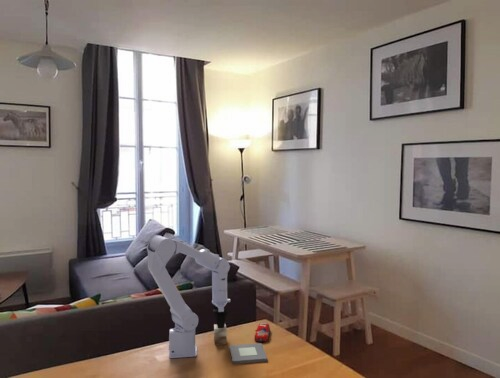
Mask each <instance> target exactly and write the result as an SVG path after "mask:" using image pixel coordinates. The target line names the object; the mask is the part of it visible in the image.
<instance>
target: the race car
mask: <svg viewBox="0 0 500 378" xmlns="http://www.w3.org/2000/svg"><path fill="white" fill-rule="evenodd" d="M254 331H255V334H254V341H256V342H258V343H262V342H268V341H269V338H270V337H269V336H270V332H271V326H270V324H269V323H268V322H260V323H259V324H258V325H257V328H256V329H255V330H254Z"/></svg>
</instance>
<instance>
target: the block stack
mask: <svg viewBox="0 0 500 378" xmlns="http://www.w3.org/2000/svg"><path fill="white" fill-rule="evenodd" d="M227 336H228V335H227V325H226V323H225V324H224V328H218V326H217V323H216V324H215V323H214V324H213V342H214V343H213V344H214V345H215V346H217V345H227V343H228V342H227V341H228V340H227Z"/></svg>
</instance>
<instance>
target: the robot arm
mask: <svg viewBox="0 0 500 378" xmlns="http://www.w3.org/2000/svg"><path fill="white" fill-rule="evenodd" d="M146 251H147V269H148V271H149V273H150V274H151V276H152V278H153V279H154V282H155V284H157V287H158V288H159V290H160V292H161V293H162V295H163V297H164V298H165V300H166V302H167V304H168V306H169V307H170V309H169V311H170V313H171V320H172V321H173V323H174V328H170V329H169V335H168V351H169V359H175V358H176V359H178V358H180V359H181V358H193V357H194V358H195V357H197V356H198V351H197V350H198V347H197V345H196V328H197V327H198V324H199V319H200V318H199V316H198V315H197V314H196V313H195V312H193V311H192V309H191V308H190V307H189V306H188V304H186V302H185V300H184V299H183V297H182V295H181V293H180V291H179V290H178V288H177V286H176V284H175V283H174V281H173V279H172V277H171V276H170V274H169V272H168V270H167V268H166V266H167V264H168V262H169V261H170V259H171V258H172V257H173V255H174V254H175V255H177V254H179V253H181V254H183V255H184V256H187V257H191V258H193V259H194V261H195V263H196V264H197V265H200V266H202V267H203V268H206V269H207V270H210V271H211V293H212V294H211V296H212V300H211V304H212V306H213V308H214V309H212V312H213V314H214V316H215V319H216V324H217V326H218V328H224V324H226V319H227V318H226V317H227V315H228V313H229V309H228V308H227V309H225V307H226V305H227V304H228V303H231V298H228V273H229V271H230V268H231V265H230V264H229V261H228V260H227V259H226V258H223V257H220V254H218V253H215V254H214V252H213V253H212V252H210V249H208V248H205V249H204V248H202V249H200V250H198V249H196V248H194V247H192V246H190V245H188V244H186V243H184V242H182V241H179V240H177V239H173V238H169V237H164V236H162V235H160V234H155V235H153V236H151V237H150V239H149V241H148V242H147V245H146Z"/></svg>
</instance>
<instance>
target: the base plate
mask: <svg viewBox="0 0 500 378" xmlns="http://www.w3.org/2000/svg"><path fill="white" fill-rule="evenodd" d="M263 346H264V345H263V344H262V342H258V343H257V342H256V343H246V344H245V343H244V344H232V345H229V352H230V357H231V363H232V365H236V364H237V365H238V364H248V363H249V364H251V363H262V362H263V363H264V362H268V356H267V353H266V351H265V349H264V347H263Z"/></svg>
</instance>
